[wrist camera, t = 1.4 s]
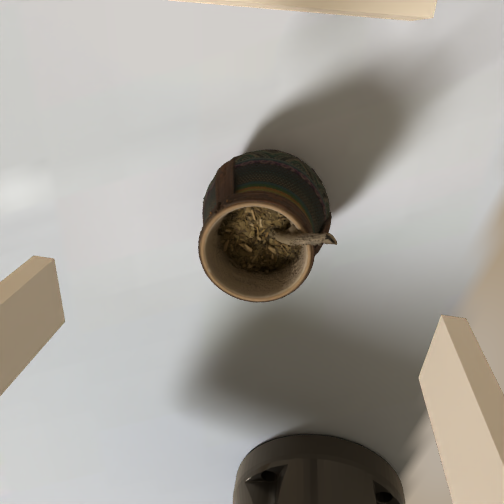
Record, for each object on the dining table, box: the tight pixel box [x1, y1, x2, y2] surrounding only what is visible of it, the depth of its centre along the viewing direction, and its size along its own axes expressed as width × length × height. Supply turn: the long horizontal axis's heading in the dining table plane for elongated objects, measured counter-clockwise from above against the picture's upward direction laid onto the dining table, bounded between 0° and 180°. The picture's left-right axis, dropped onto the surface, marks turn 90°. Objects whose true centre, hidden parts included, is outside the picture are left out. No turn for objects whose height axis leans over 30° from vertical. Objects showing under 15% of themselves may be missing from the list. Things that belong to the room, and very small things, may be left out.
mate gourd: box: [198, 150, 337, 302], centre depth 22 cm, size 7×8×10 cm
